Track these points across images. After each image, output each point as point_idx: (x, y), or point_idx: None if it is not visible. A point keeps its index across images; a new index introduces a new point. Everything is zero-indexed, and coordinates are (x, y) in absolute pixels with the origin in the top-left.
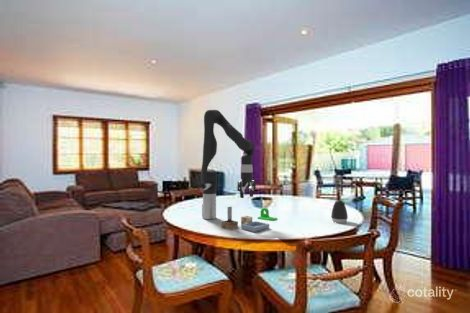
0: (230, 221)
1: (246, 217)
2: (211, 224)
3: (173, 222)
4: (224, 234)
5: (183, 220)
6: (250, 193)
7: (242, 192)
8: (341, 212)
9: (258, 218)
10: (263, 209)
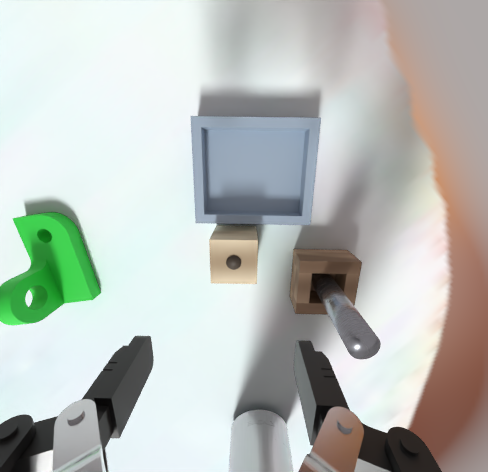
0: (333, 281)
1: (248, 252)
2: None
3: None
4: (423, 212)
5: None
6: (135, 388)
7: (332, 406)
8: None
9: (94, 292)
10: (21, 310)
